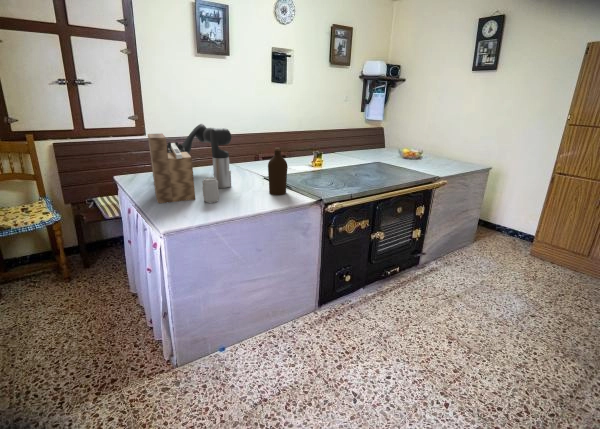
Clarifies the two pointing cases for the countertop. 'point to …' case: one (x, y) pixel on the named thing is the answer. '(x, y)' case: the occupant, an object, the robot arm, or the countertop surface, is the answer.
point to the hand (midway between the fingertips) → (173, 143)
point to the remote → (176, 151)
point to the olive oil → (277, 174)
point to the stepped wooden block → (170, 172)
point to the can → (210, 190)
